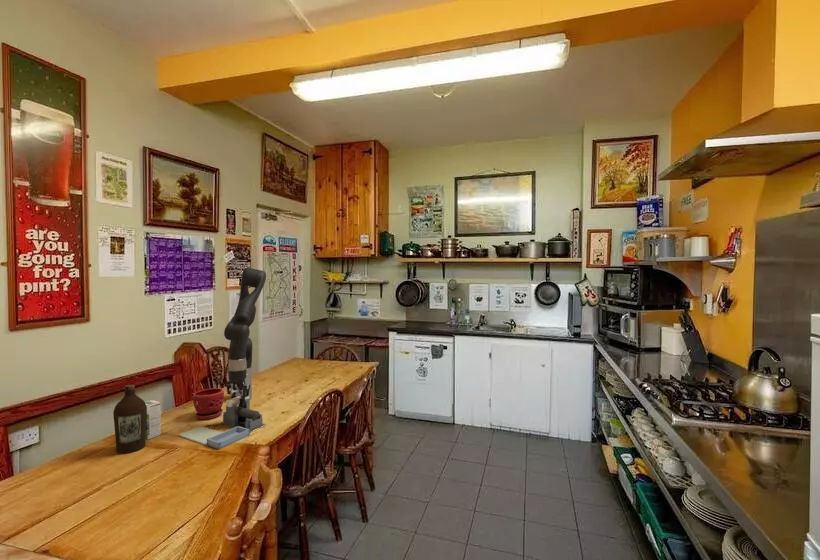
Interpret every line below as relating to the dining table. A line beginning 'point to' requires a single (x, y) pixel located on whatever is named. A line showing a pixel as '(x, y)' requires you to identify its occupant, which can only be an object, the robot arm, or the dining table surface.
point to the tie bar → (234, 401)
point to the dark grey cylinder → (248, 413)
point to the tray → (228, 437)
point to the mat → (199, 434)
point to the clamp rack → (240, 418)
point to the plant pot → (208, 403)
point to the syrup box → (153, 419)
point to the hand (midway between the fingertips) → (238, 404)
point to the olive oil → (130, 422)
